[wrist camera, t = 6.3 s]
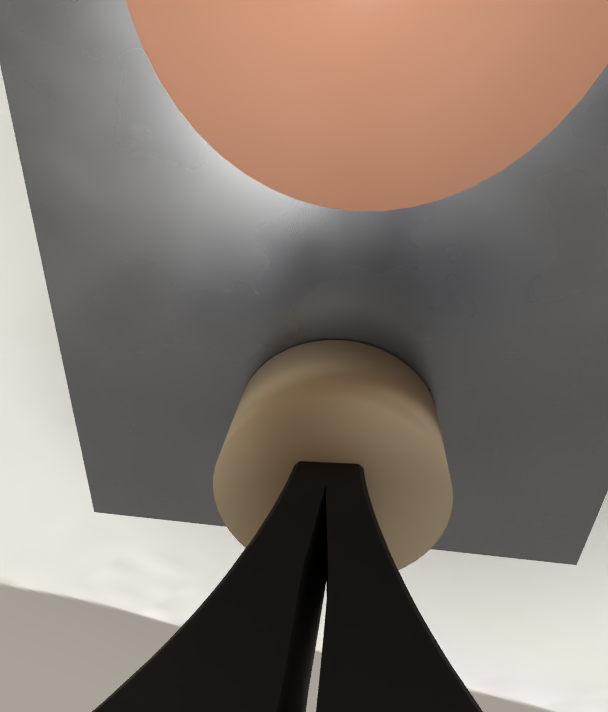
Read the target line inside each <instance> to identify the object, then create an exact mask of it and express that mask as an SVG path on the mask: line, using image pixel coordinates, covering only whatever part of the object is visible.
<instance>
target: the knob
mask: <svg viewBox="0 0 608 712" xmlns="http://www.w3.org/2000/svg"><path fill="white" fill-rule="evenodd" d="M299 461H309V462H330V463H352V464H360V465H361V466H362V467H363V468H364V475H365V480H366V485H367V489H368V493H369V497H370V500H371V503H372V506H373V510H374V513H375V516H376V518H377V521H378V524H379V526H380V529H381V531H382V534H383V536H384V539H385V541H386V544H387V546H388V549H389V551H390V553H391V556H392V558H393V560H394V562H395V565H396V567H397V569H398V570H399V569H402V568H404V567H406V566H407V565H409V564H411V563H413V562H414V561H416V560H417V559H419V558H420V557H421V556H423V555H424V554H425V553H426V552H427V551H428V550H429V549H431V548H432V547H433V546H434V545H435V543H436V542H437V541H438V539H439V538H440V537H441V535H442V534H443V532H444V530H445V528H446V526H447V524H448V521H449V518H450V515H451V511H452V504H453V488H452V483H451V479H450V474H449V469H448V464H447V459H446V454H445V449H444V444H443V439H442V434H441V430H440V425H439V420H438V415H437V410H436V406H435V403H434V400H433V398H432V395H431V393H430V392H429V390H428V388H427V386H426V385H425V383H424V382H423V381H422V380H421V378H420V377H419V376H418V375H417V374H416V373H415V372H414V371H413V370H412V369H411V368H410V367H409V366H408V365H407V364H405V363H404V362H402V361H401V360H400V359H398V358H397V357H395V356H393V355H391V354H389V353H388V352H386V351H384V350H381V349H379V348H376V347H373V346H370V345H367V344H363V343H359V342H353V341H346V340H323V341H314V342H309V343H305V344H301V345H298V346H295V347H292V348H289V349H287V350H285V351H283V352H281V353H279V354H277V355H276V356H274V357H273V358H271V359H270V360H269V361H267V362H266V363H265V364H264V365H263V366H262V367H260V368H259V369H258V370H257V372H256V373H255V374H254V375H253V377H252V378H251V379H250V381H249V382H248V384H247V386H246V388H245V390H244V392H243V395H242V397H241V400H240V403H239V405H238V408H237V410H236V413H235V416H234V418H233V421H232V423H231V426H230V429H229V431H228V434H227V436H226V439H225V442H224V444H223V447H222V449H221V452H220V455H219V457H218V460H217V462H216V465H215V470H214V475H213V491H214V498H215V502H216V505H217V509H218V511H219V513H220V515H221V518H222V520H223V522H224V523H225V525H226V526H227V528H228V529H229V531H230V532H231V533H232V534H233V535H234V537H235V538H236V539H237V540H238V541H239V542H240V543H241V544H242V545H243V546H244V547H247V546H248V544H249V543H250V542H251V540H252V539H253V537H254V536H255V534H256V533H257V531H258V530H259V528H260V527H261V525H262V523H263V522H264V520H265V519H266V517H267V515H268V514H269V512H270V511H271V509H272V508H273V506H274V504H275V502H276V501H277V499H278V497H279V495H280V494H281V492H282V490H283V488H284V486H285V484H286V482H287V480H288V478H289V476H290V474H291V472H292V469H293V467H294V465H295V464H296V463H298V462H299Z"/></svg>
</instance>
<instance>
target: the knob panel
mask: <svg viewBox="0 0 608 712" xmlns="http://www.w3.org/2000/svg"><path fill="white" fill-rule="evenodd" d="M0 65H1V70H2V75H3V80H4V84H5V89H6V94H7V99H8V103H9V108H10V113H11V118H12V122H13V127H14V132H15V137H16V141H17V146H18V151H19V156H20V160H21V165H22V170H23V175H24V179H25V184H26V189H27V194H28V198H29V203H30V208H31V213H32V217H33V222H34V227H35V232H36V236H37V241H38V246H39V251H40V256H41V260H42V265H43V270H44V275H45V279H46V284H47V289H48V294H49V298H50V303H51V308H52V313H53V317H54V322H55V327H56V332H57V336H58V341H59V346H60V351H61V355H62V360H63V365H64V370H65V374H66V379H67V384H68V389H69V393H70V398H71V403H72V408H73V412H74V417H75V422H76V427H77V431H78V436H79V441H80V446H81V450H82V455H83V460H84V465H85V470H86V474H87V479H88V484H89V489H90V493H91V498H92V503H93V508H94V512H99V513H108V514H117V515H126V516H135V517H145V518H154V519H163V520H172V521H181V522H190V523H199V524H208V525H217V526H226V525H225V523H224V522H223V520H222V518H221V515H220V513H219V511H218V509H217V505H216V502H215V498H214V491H213V475H214V470H215V465H216V462H217V460H218V457H219V455H220V452H221V449H222V447H223V444H224V442H225V439H226V436H227V434H228V431H229V429H230V426H231V423H232V421H233V418H234V416H235V413H236V410H237V408H238V405H239V403H240V400H241V397H242V395H243V392H244V390H245V388H246V386H247V384H248V382H249V381H250V379H251V378H252V377H253V375H254V374H255V373H256V372H257V370H258V369H259V368H260V367H262V366H263V365H264V364H265V363H266V362H267V361H269V360H270V359H271V358H273V357H274V356H276V355H277V354H279V353H281V352H283V351H285V350H287V349H289V348H292V347H295V346H298V345H301V344H305V343H309V342H314V341H323V340H346V341H353V342H359V343H363V344H367V345H370V346H373V347H376V348H379V349H381V350H384V351H386V352H388V353H389V354H391V355H393V356H395V357H397V358H398V359H400V360H401V361H402V362H404V363H405V364H407V365H408V366H409V367H410V368H411V369H412V370H413V371H414V372H415V373H416V374H417V375H418V376H419V377H420V378H421V380H422V381H423V382H424V383H425V385H426V386H427V388H428V390H429V392H430V393H431V395H432V398H433V400H434V403H435V406H436V410H437V415H438V420H439V425H440V430H441V434H442V439H443V444H444V449H445V454H446V459H447V464H448V469H449V474H450V479H451V483H452V488H453V504H452V511H451V515H450V518H449V521H448V524H447V526H446V528H445V530H444V532H443V534H442V535H441V537H440V538H439V539H438V541H437V542H436V543H435V545H434V546H433V547H432V548H431V549H436V550H445V551H454V552H463V553H472V554H481V555H491V556H500V557H509V558H518V559H527V560H536V561H545V562H554V563H563V564H572V565H577V562H578V560H579V557H580V555H581V553H582V550H583V548H584V546H585V543H586V541H587V538H588V536H589V534H590V531H591V529H592V527H593V524H594V522H595V519H596V517H597V515H598V512H599V510H600V508H601V505H602V503H603V500H604V498H605V496H606V493H607V491H608V64H607V66H606V67H605V68H604V70H603V71H602V73H601V74H600V75H599V77H598V78H597V79H596V81H595V82H594V83H593V85H592V86H591V87H590V89H589V90H588V92H587V93H586V94H585V96H584V97H583V98H582V99H581V100H580V102H579V103H578V104H577V105H576V106H575V107H574V108H573V109H572V110H571V111H570V113H569V114H568V115H567V116H566V117H565V118H564V119H563V120H562V121H561V122H560V124H559V125H558V126H557V127H556V128H555V129H554V130H552V131H551V132H550V133H549V134H548V135H547V136H546V137H545V138H543V139H542V140H541V141H540V142H539V143H538V144H537V145H535V146H534V147H533V148H532V149H531V150H530V151H529V152H527V153H526V154H524V155H523V156H522V157H520V158H519V159H517V160H516V161H515V162H513V163H512V164H510V165H509V166H508V167H506V168H505V169H503V170H502V171H500V172H499V173H497V174H495V175H493V176H491V177H490V178H488V179H486V180H484V181H482V182H480V183H479V184H477V185H475V186H473V187H471V188H469V189H466V190H464V191H461V192H459V193H456V194H454V195H451V196H449V197H446V198H444V199H441V200H438V201H434V202H430V203H426V204H423V205H419V206H415V207H410V208H403V209H395V210H388V211H348V210H341V209H333V208H325V207H322V206H318V205H314V204H310V203H307V202H303V201H299V200H296V199H294V198H291V197H289V196H287V195H284V194H282V193H279V192H277V191H275V190H272V189H270V188H268V187H267V186H265V185H263V184H261V183H260V182H258V181H256V180H254V179H253V178H251V177H249V176H248V175H246V174H244V173H243V172H242V171H240V170H239V169H238V168H236V167H235V166H234V165H232V164H231V163H230V162H228V161H227V160H226V159H225V158H223V157H222V156H221V155H220V154H219V153H218V152H217V151H215V150H214V149H213V148H212V147H211V146H210V145H209V144H208V143H207V142H206V141H205V140H204V139H203V138H202V137H201V136H200V135H199V134H198V133H197V132H196V130H195V129H194V128H193V127H192V126H191V124H190V123H189V122H188V121H187V119H186V118H185V117H184V116H183V115H182V113H181V112H180V111H179V110H178V108H177V107H176V105H175V104H174V102H173V101H172V99H171V98H170V96H169V95H168V93H167V91H166V90H165V88H164V87H163V85H162V84H161V82H160V81H159V79H158V77H157V75H156V73H155V71H154V69H153V67H152V65H151V63H150V61H149V59H148V57H147V55H146V53H145V51H144V49H143V47H142V45H141V42H140V39H139V37H138V34H137V31H136V29H135V26H134V23H133V21H132V18H131V15H130V13H129V10H128V7H127V3H126V0H0Z"/></svg>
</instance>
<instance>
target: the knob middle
mask: <svg viewBox="0 0 608 712" xmlns="http://www.w3.org/2000/svg"><path fill="white" fill-rule="evenodd" d="M126 3H127V7H128V10H129V13H130V15H131V18H132V21H133V23H134V26H135V29H136V31H137V34H138V37H139V39H140V42H141V45H142V47H143V49H144V51H145V53H146V55H147V57H148V59H149V61H150V63H151V65H152V67H153V69H154V71H155V73H156V75H157V77H158V79H159V81H160V82H161V84H162V85H163V87H164V88H165V90H166V91H167V93H168V95H169V96H170V98H171V99H172V101H173V102H174V104H175V105H176V107H177V108H178V110H179V111H180V112H181V113H182V115H183V116H184V117H185V118H186V119H187V121H188V122H189V123H190V124H191V126H192V127H193V128H194V129H195V130H196V132H197V133H198V134H199V135H200V136H201V137H202V138H203V139H204V140H205V141H206V142H207V143H208V144H209V145H210V146H211V147H212V148H213V149H214V150H215V151H217V152H218V153H219V154H220V155H221V156H222V157H223V158H225V159H226V160H227V161H228V162H230V163H231V164H232V165H234V166H235V167H236V168H238V169H239V170H240V171H242V172H243V173H244V174H246V175H248V176H249V177H251V178H253V179H254V180H256V181H258V182H260V183H261V184H263V185H265V186H267V187H268V188H270V189H272V190H275V191H277V192H279V193H282V194H284V195H287V196H289V197H291V198H294V199H296V200H299V201H303V202H307V203H310V204H314V205H318V206H322V207H325V208H333V209H341V210H348V211H388V210H395V209H403V208H410V207H415V206H419V205H423V204H426V203H430V202H434V201H438V200H441V199H444V198H446V197H449V196H451V195H454V194H456V193H459V192H461V191H464V190H466V189H469V188H471V187H473V186H475V185H477V184H479V183H480V182H482V181H484V180H486V179H488V178H490V177H491V176H493V175H495V174H497V173H499V172H500V171H502V170H503V169H505V168H506V167H508V166H509V165H510V164H512V163H513V162H515V161H516V160H517V159H519V158H520V157H522V156H523V155H524V154H526V153H527V152H529V151H530V150H531V149H532V148H533V147H534V146H535V145H537V144H538V143H539V142H540V141H541V140H542V139H543V138H545V137H546V136H547V135H548V134H549V133H550V132H551V131H552V130H554V129H555V128H556V127H557V126H558V125H559V124H560V122H561V121H562V120H563V119H564V118H565V117H566V116H567V115H568V114H569V113H570V111H571V110H572V109H573V108H574V107H575V106H576V105H577V104H578V103H579V102H580V100H581V99H582V98H583V97H584V96H585V94H586V93H587V92H588V90H589V89H590V87H591V86H592V85H593V83H594V82H595V81H596V79H597V78H598V77H599V75H600V74H601V73H602V71H603V70H604V68H605V67H606V66H607V64H608V0H126Z"/></svg>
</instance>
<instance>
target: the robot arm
mask: <svg viewBox="0 0 608 712" xmlns="http://www.w3.org/2000/svg"><path fill="white" fill-rule="evenodd" d="M326 582H327V604H326V615H325V626H324V637H323V648H322V658H321V669H320V679H319V689H318V699H317V709H316V712H483V711H482V710H481V708H480V707H479V705H478V704H477V703H476V701H475V700H474V698H473V697H472V695H471V694H470V692H469V691H468V689H467V688H466V686H465V685H464V683H463V682H462V680H461V679H460V677H459V676H458V674H457V673H456V672H455V670H454V669H453V667H452V666H451V664H450V663H449V661H448V659H447V658H446V656H445V655H444V653H443V651H442V650H441V648H440V646H439V645H438V643H437V641H436V640H435V638H434V636H433V635H432V633H431V631H430V630H429V628H428V626H427V624H426V623H425V621H424V619H423V617H422V616H421V614H420V612H419V610H418V608H417V607H416V605H415V603H414V601H413V599H412V597H411V595H410V593H409V591H408V589H407V587H406V585H405V583H404V581H403V579H402V577H401V575H400V573H399V571H398V569H397V567H396V565H395V562H394V560H393V558H392V556H391V553H390V551H389V549H388V546H387V544H386V541H385V539H384V536H383V534H382V531H381V529H380V526H379V524H378V521H377V518H376V516H375V513H374V510H373V506H372V503H371V500H370V497H369V493H368V489H367V485H366V480H365V475H364V468H363V467H362V466H361V465H360V464H352V463H330V462H309V461H299V462H298V463H296V464H295V465H294V467H293V469H292V472H291V474H290V476H289V478H288V480H287V482H286V484H285V486H284V488H283V490H282V492H281V494H280V495H279V497H278V499H277V501H276V502H275V504H274V506H273V508H272V509H271V511H270V512H269V514H268V515H267V517H266V519H265V520H264V522H263V523H262V525H261V527H260V528H259V530H258V531H257V533H256V534H255V536H254V537H253V539H252V540H251V542H250V543H249V544H248V546H247V547H246V549H245V550H244V551H243V553H242V554H241V555H240V557H239V558H238V560H237V561H236V562H235V564H234V565H233V567H232V568H231V569H230V571H229V572H228V573H227V574H226V576H225V577H224V578H223V579H222V581H221V582H220V583H219V584H218V586H217V587H216V588H215V589H214V591H213V592H212V593H211V594H210V595H209V596H208V598H207V599H206V600H205V601H204V602H203V603H202V605H201V606H200V607H199V608H198V609H197V610H196V612H195V613H194V614H193V615H192V616H191V617H190V618H189V619H188V620H187V621H186V622H185V623H184V625H183V626H182V627H181V628H180V629H179V630H178V631H177V632H176V633H175V634H174V635H173V636H172V637H171V638H170V640H169V641H168V642H167V643H166V644H165V645H164V646H163V647H162V648H161V649H160V650H159V651H158V652H157V653H156V654H155V655H154V656H153V657H152V658H151V659H150V660H148V662H146V663H145V664H144V665H143V666H142V667H141V668H140V669H139V670H138V671H136V673H134V674H133V675H132V676H131V677H130V678H129V679H128V680H127V681H126V682H125V683H123V684H122V685H121V686H120V687H119V688H118V689H117V690H116V691H115V692H114V693H113V694H112V695H111V696H109V697H108V698H107V699H106V700H105V701H104V702H103V703H102V704H101V705H99V706H98V707H97V708H96V709H95V710H93V711H92V712H306V705H307V697H308V689H309V683H310V677H311V671H312V665H313V659H314V653H315V647H316V641H317V635H318V629H319V622H320V616H321V610H322V604H323V598H324V592H325V585H326Z"/></svg>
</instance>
